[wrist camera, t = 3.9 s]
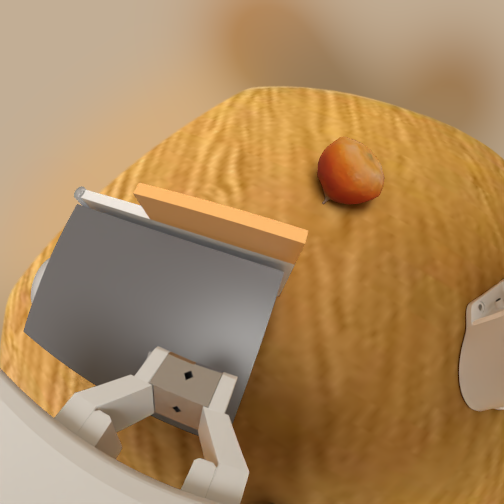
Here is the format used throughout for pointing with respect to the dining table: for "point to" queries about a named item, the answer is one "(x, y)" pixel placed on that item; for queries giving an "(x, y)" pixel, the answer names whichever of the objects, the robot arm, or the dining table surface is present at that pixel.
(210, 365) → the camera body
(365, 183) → the fruit
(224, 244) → the side door
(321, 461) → the dining table surface
